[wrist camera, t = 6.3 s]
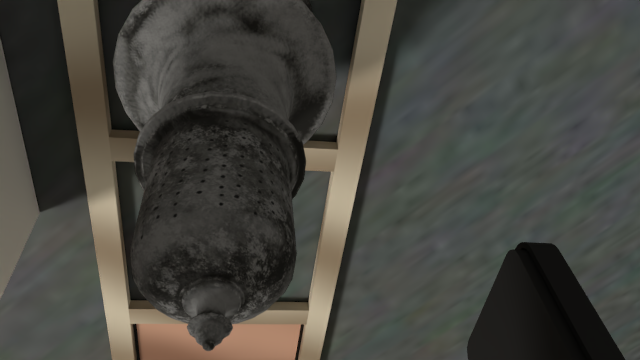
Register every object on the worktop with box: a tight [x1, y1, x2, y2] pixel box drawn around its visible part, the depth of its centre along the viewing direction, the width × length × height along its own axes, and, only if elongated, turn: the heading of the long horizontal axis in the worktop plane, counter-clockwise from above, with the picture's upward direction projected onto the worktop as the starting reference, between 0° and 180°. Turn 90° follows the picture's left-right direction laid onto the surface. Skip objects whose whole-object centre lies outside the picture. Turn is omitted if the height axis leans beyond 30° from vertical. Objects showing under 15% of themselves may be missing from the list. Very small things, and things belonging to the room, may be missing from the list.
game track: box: [57, 0, 397, 360], centre depth 23 cm, size 28×10×1 cm, turn 172°
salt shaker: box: [113, 0, 336, 351], centre depth 13 cm, size 6×6×12 cm
